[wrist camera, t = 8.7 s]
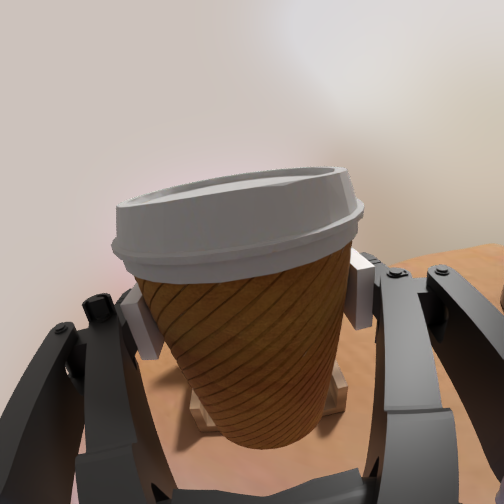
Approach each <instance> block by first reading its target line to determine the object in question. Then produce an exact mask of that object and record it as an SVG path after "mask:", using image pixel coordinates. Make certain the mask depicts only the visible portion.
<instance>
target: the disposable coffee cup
mask: <svg viewBox="0 0 504 504" xmlns="http://www.w3.org/2000/svg"><path fill="white" fill-rule="evenodd" d="M363 213H364V204H363V202H362V201H361V200H359V199H358V198H356V196H355V193H354V189H353V186H352V183H351V179H350V176H349V173H348V170H347V169H346V168H342V167H303V168H288V169H277V170H267V171H260V172H259V171H258V172H251V173H243V174H238V175H231V176H225V177H219V178H214V179H208V180H202V181H197V182H192V183H189V184H184V185H179V186H174V187H170V188H166V189H162V190H158V191H155V192H151V193H148V194H144V195H141V196H138V197H135V198H132V199H129V200H127V201H124V202H122V203H120V204H118V205H117V206H116V228H117V229H116V230H117V237H116V238H115V239H114V240H113V242H112V244H111V246H112V250H113V253H114V254H115V255H116V256H117V257H118V258H120V259H121V260H123V262H124V265H125V267H126V270H127V271H128V272H129V273H131V274H132V275H134V277H135V280H136V281H137V283H138V286H139V288H140V291H141V293H142V295H143V297H144V299H145V302H146V304H147V305H148V307H149V309H150V311H151V314H152V316H153V318H154V320H155V322H156V323H157V325H158V328H159V330H160V332H161V334H162V335H163V337H164V339H165V342H166V344H167V345H168V347H169V348H170V349H171V353H172V355H173V356H174V358H175V359H176V360H177V363H178V365H179V367H180V368H181V370H182V372H183V374H184V376H185V377H186V379H188V383H189V384H190V386H191V387H192V388H194V389H193V391H194V392H195V394H196V395H197V397H198V399H199V400H200V402H201V403H202V405H203V407H204V408H205V410H206V411H207V413H208V414H209V416H210V417H211V419H212V421H213V422H214V423H215V425H216V427H217V428H218V430H219V431H220V432H221V434H222V435H223V436H225V437H226V438H227V439H228V440H230V441H232V442H233V443H235V444H237V445H240V446H243V447H246V448H251V449H260V450H263V449H275V448H280V447H284V446H287V445H290V444H292V443H294V442H296V441H299V440H300V439H302V438H303V437H305V436H306V435H307V434H309V433H310V432H311V431H312V430H313V429H314V428H315V427H316V425H317V424H318V422H319V421H320V419H321V417H322V414H323V411H324V406H325V402H326V398H327V393H328V389H329V385H330V381H331V376H332V371H333V367H334V362H335V357H336V352H337V346H338V341H339V335H340V330H341V325H342V318H343V312H344V305H345V299H346V291H347V282H348V276H349V267H350V258H351V246H352V240H353V239H354V237H355V236H356V234H357V231H358V221H359V220H360V219H361V218H363Z"/></svg>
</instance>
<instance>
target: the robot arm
mask: <svg viewBox="0 0 504 504" xmlns="http://www.w3.org/2000/svg"><path fill="white" fill-rule="evenodd" d="M500 300H501V305H502V307H503V309H504V286H503V290H502V294H501V299H500ZM82 306H83V309H84V311H85V314H86V316H87V319H88V321H89V328H87V329H82V330H78V331H77V330H76V328H75V326H74V324H73V323H72V322H64V323H59V324H57V325H56V326H55V327H54V328H52V330H51V331H50V332H49V333H48V335H47V336H46V338H45V339H44V341H43V343H42V344H41V346H40V348H39V349H38V351H37V352H36V354H35V355H34V357H33V359H32V360H31V362H30V364H29V365H28V367H27V369H26V370H25V372H24V374H23V376H22V377H21V379H20V381H19V383H18V385H17V387H16V388H15V390H14V392H13V394H12V396H11V398H10V400H9V402H8V404H7V406H6V408H5V410H4V412H3V414H2V416H1V418H0V504H70V503H71V495H72V487H73V480H74V474H75V473H76V483H77V492H78V499H79V504H462V503H459V502H458V499H459V471H458V451H457V439H456V430H455V421H454V416H453V412H452V410H451V409H450V408H442V404H441V396H440V390H439V383H438V378H437V372H436V367H435V361H434V357H433V352H432V347H433V349H434V351H435V352H436V354H437V356H438V358H439V359H440V361H441V363H442V365H443V366H444V368H445V370H446V372H447V374H448V376H449V378H450V379H451V381H452V383H453V385H454V387H455V389H456V391H457V393H458V395H459V397H460V399H461V401H462V403H463V405H464V407H465V409H466V411H467V414H468V416H469V418H470V420H471V422H472V425H473V427H474V429H475V431H476V434H477V436H478V438H479V441H480V443H481V446H482V448H483V451H484V453H485V456H486V458H487V460H488V463H489V465H490V467H491V469H492V471H493V472H494V474H495V476H496V477H497V479H498V480H499V482H500V483H501V485H500V490H499V491H498V493H497V494H496V497H495V501H496V504H504V316H503V315H502V314H501V313H500V311H499V310H498V309H497V308H496V307H494V306H493V305H492V304H491V303H490V302H489V301H488V300H487V299H486V298H485V297H484V296H483V295H482V294H481V293H480V292H479V291H478V290H477V289H476V288H475V287H473V286H472V285H471V284H470V283H469V282H468V281H467V280H466V279H465V278H463V277H462V276H461V275H460V274H459V273H458V272H457V271H455V270H454V269H452V268H451V267H448V266H446V265H435V266H431V267H430V268H428V271H427V277H426V278H412V275H411V273H410V272H409V271H407V270H405V269H402V268H389V267H387V266H386V265H385V264H383V263H381V261H380V260H378V259H377V258H375V257H374V256H373V255H371V254H368V253H365V252H363V253H358V252H357V251H356V250H354V249H353V248H352V247H351V258H350V267H349V276H348V282H347V291H346V299H345V305H344V313H345V315H346V316H347V318H348V319H349V321H350V323H351V324H352V326H353V327H354V329H355V330H359V329H363V328H367V327H371V326H372V319H373V315H374V316H375V317H376V319H377V327H376V337H375V343H376V372H375V390H374V403H373V414H372V424H371V432H370V440H369V447H368V454H367V460H366V465H365V470H364V473H363V477H361V476H360V473H359V470H358V468H355V469H352V470H348V471H345V472H341V473H337V474H333V475H329V476H325V477H321V478H316V479H312V480H310V481H308V482H305V483H303V484H300V485H298V486H295V487H293V488H290V489H287V490H285V491H282V492H279V493H276V494H273V495H270V496H266V497H259V496H251V495H243V494H236V493H230V492H224V491H219V490H185V489H178V488H177V485H176V483H175V481H174V478H173V476H172V473H171V471H170V468H169V465H168V463H167V460H166V457H165V455H164V452H163V449H162V446H161V443H160V440H159V437H158V434H157V431H156V428H155V425H154V422H153V418H152V415H151V412H150V408H149V405H148V401H147V397H146V394H145V390H144V386H143V382H142V378H141V374H140V370H139V365H138V362H137V360H136V358H135V354H136V352H137V350H138V352H139V354H140V356H141V359H142V360H156V359H158V358H159V355H160V352H161V350H162V347H163V344H164V341H165V339H164V337H163V335H162V334H161V332H160V330H159V328H158V325H157V323H156V322H155V320H154V318H153V316H152V314H151V311H150V309H149V307H148V305H147V304H146V302H145V299H144V297H143V295H142V293H141V291H140V288H139V286H138V283H136V284H135V285H134V287H133V288H132V289H129V290H127V291H126V292H125V293H123V294H122V296H121V297H120V298H119V300H118V301H117V302H116V304H115V305H114V304H113V301H112V298H111V296H110V294H107V293H102V294H97V295H94V296H92V297H90V298H88V299H87V300H85V301H84V302H83V304H82ZM431 345H432V347H431ZM65 367H66V369H67V371H68V372H69V374H68V375H67V373H66V369H65ZM84 424H85V439H86V453H84V454H78V452H79V447H80V442H81V438H82V433H83V429H84Z"/></svg>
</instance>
